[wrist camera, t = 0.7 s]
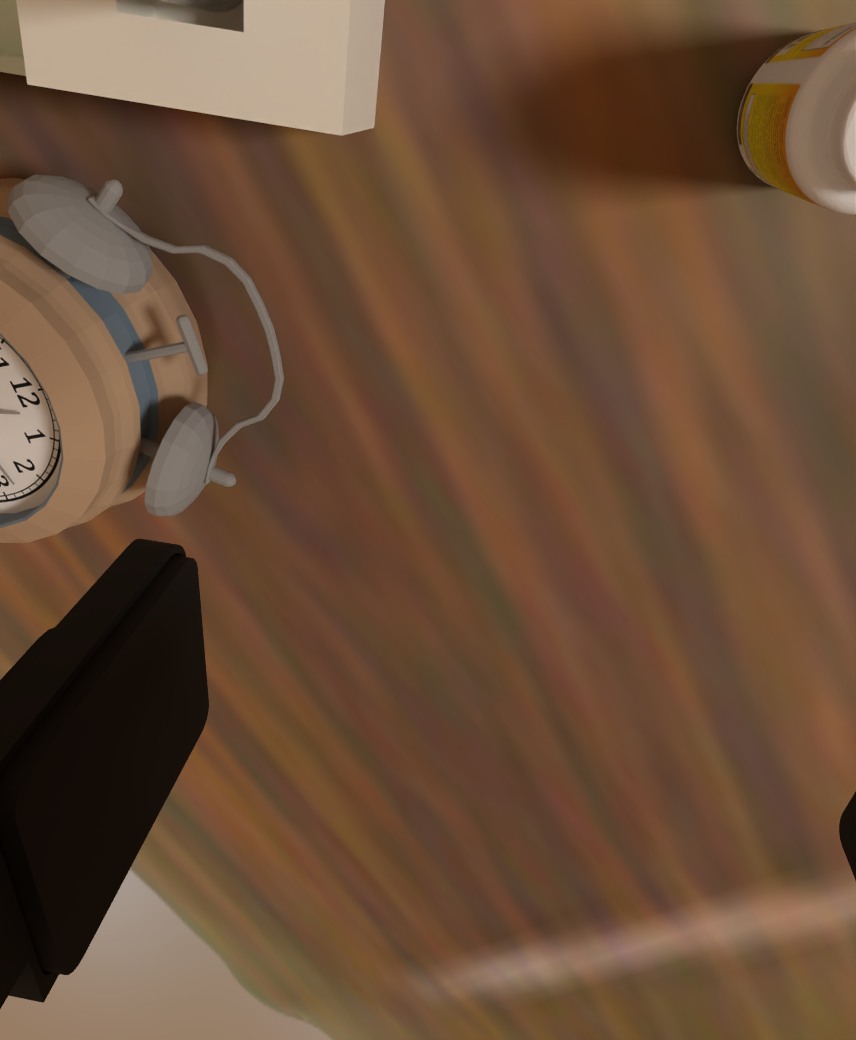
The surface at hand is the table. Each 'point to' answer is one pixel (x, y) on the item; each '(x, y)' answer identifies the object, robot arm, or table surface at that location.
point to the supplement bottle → (805, 119)
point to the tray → (10, 39)
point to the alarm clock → (99, 363)
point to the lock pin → (209, 4)
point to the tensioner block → (215, 57)
